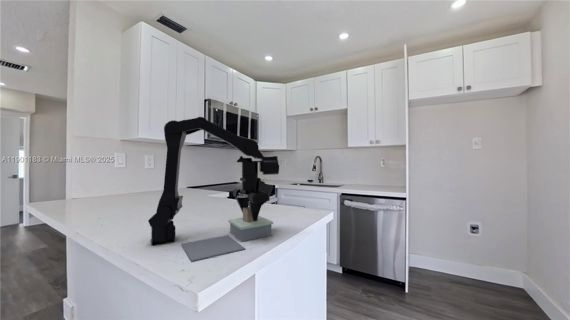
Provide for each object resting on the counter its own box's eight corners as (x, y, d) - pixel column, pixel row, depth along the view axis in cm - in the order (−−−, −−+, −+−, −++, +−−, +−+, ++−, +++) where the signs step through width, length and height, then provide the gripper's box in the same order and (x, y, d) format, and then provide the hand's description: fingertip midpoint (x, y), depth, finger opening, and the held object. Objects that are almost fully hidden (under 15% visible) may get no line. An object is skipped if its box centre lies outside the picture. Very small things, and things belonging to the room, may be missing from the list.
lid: (241, 229, 74) (241, 213, 74) (228, 221, 84) (228, 207, 84) (273, 224, 80) (273, 208, 80) (257, 217, 90) (257, 203, 90)
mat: (191, 262, 59) (191, 260, 59) (181, 244, 72) (181, 243, 72) (245, 249, 67) (245, 248, 67) (227, 236, 80) (227, 234, 80)
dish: (242, 241, 74) (242, 229, 74) (230, 232, 84) (230, 221, 84) (271, 235, 80) (271, 223, 81) (257, 227, 90) (257, 217, 90)
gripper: (282, 175, 79) (283, 220, 79) (258, 173, 94) (258, 211, 94) (253, 176, 73) (253, 225, 73) (232, 174, 88) (232, 214, 88)
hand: (250, 218), depth 82 cm, fingers open, 8 cm apart
